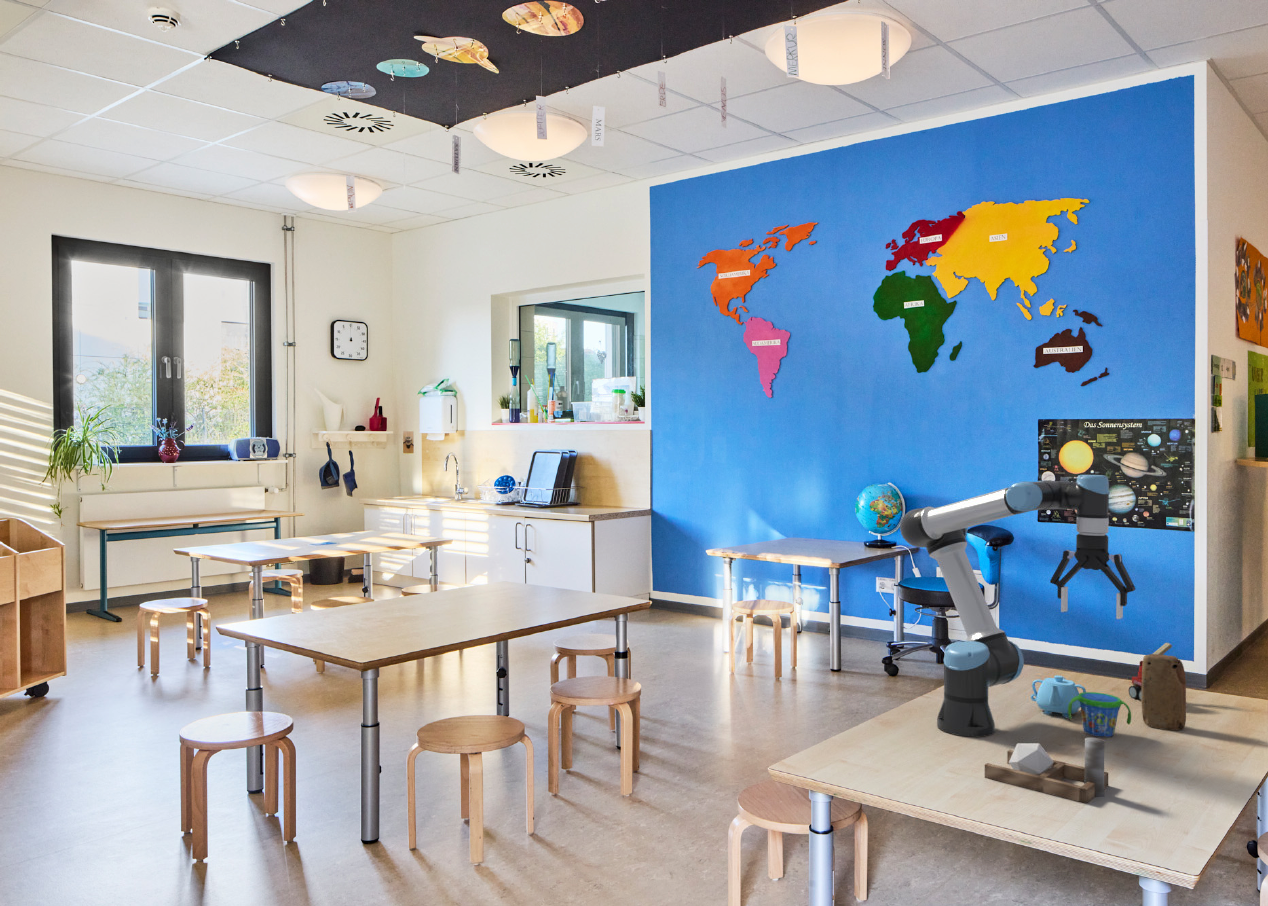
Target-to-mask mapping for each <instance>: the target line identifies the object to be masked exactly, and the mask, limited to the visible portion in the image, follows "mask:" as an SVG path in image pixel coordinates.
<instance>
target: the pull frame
mask: <svg viewBox="0 0 1268 906" xmlns="http://www.w3.org/2000/svg"><path fill="white" fill-rule="evenodd" d="M1105 743H1106V742H1105V740H1103V739H1102V738H1098V737H1097V738H1096V737H1085V738H1084V766H1081V765H1077V764H1073V763H1069V762H1064V761H1059V760H1056V759H1052V760H1053V764H1052V767H1051V768H1050V769H1048V770H1047V771H1045V772H1044V773H1042V774H1041V775H1039V776H1038V775H1034V774H1030V773H1026V772H1022V771H1018V770H1014V769H1013V768H1009V767H1005V766H1001V765H996V764H994V763H993V764H992V763H989V762H987V763H985V764H984V778H986V779H990V780H994V781H998V782H1002V783H1006V784H1010V785H1014V786H1018V787H1022V788H1025V789H1029V790H1032V791H1037V792H1041V793H1046V794H1047V795H1048V794H1049V795H1052V796H1056V797H1061V798H1064V799H1069V800H1071V801H1076V802H1080V803H1084V804H1088V803H1089V802H1090V801H1091V800H1093V799H1094V798H1096V797H1099V798H1100V797H1104V796H1105V789H1106V788H1108V787H1109V772H1106V771H1105V748H1106V747H1105ZM1013 752H1014V750H1012V749H1009V750H1007V753H1006V756H1007V758H1006V759H1007V760H1006V761H1007V762H1006V763H1007V764H1008V765H1010V764H1009V761H1010V758H1011V756H1012V754H1013ZM1064 778H1066V779H1071V780H1074V781H1077V782H1078V781H1079V782H1083V783H1084V784H1082V785H1078V784H1073V783H1070V782H1066V781H1063V779H1064Z"/></svg>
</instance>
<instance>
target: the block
mask: <svg viewBox="0 0 1268 906" xmlns="http://www.w3.org/2000/svg"><path fill="white" fill-rule="evenodd" d="M1142 661H1143V665H1142V697H1141V701H1140V703H1141V714H1142V721H1143V723H1144V724H1145V725H1146V726H1149V727H1151V728H1154V729H1161V730H1168V731H1182V730H1184V729H1185V727H1186V720H1187V681H1186V680H1187V679H1186V671H1185V667H1184V663H1183V662H1182V661H1181V659H1179V658H1178V657H1177V656H1175V655H1166V654H1163V655H1159V654H1153V653H1151V654H1145V655H1144V656H1143V659H1142Z"/></svg>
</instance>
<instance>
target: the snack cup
mask: <svg viewBox="0 0 1268 906" xmlns="http://www.w3.org/2000/svg"><path fill="white" fill-rule="evenodd" d="M1076 700H1078V701H1080V705H1081V707H1080V713H1081V721H1082V728H1083V732H1085V733H1086V734H1089V735H1091V736H1094V737H1107V738H1110V737H1112V736H1113V735H1114V734H1116V733H1115V732H1116V727H1117V726H1116V725H1117V720H1118V716H1119V712H1120V709H1121V706H1122V705H1124V706H1125V707H1126V709H1127V711H1128V712H1127V719H1126V724H1127V725H1130V724H1131V722H1132V711H1131V708H1130V706H1129V705H1128V704H1127V703H1126V702H1125V701H1123V700H1122V699H1121V698H1119V697H1118V696H1115V695H1112V694H1109V693H1103V692H1096V691H1095V692H1094V691H1088V692H1087V691H1086V692H1083V691H1082V692H1081V693H1080V692H1079V695H1078V696H1076V697H1074V698H1073V699H1072V700H1071V701H1070V703H1069V706H1068V714H1069V718H1068V719H1070V720H1072V719H1073V717H1072V714H1071V712H1072V703H1073V702H1075V701H1076Z"/></svg>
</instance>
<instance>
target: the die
mask: <svg viewBox="0 0 1268 906" xmlns="http://www.w3.org/2000/svg"><path fill="white" fill-rule="evenodd" d="M1013 751H1014V752H1013V754H1012V756H1011V758H1010V761H1009V764H1008V765H1010V767H1011V769H1014V770H1018V771H1022V772H1026V773H1030V774H1034V775H1038V776H1039V775H1041V774H1042V773H1044V772H1045V771H1047V770H1048V769H1050V768H1051V767H1052V764H1053V760H1054V759H1052V758H1051V756H1049V754H1048V753H1047V752H1046V750H1045V749H1044V747H1042V745H1041V744H1040V743H1034V742H1033V743H1024V742H1023V743H1022V742H1021V743H1016V745H1015V747H1014V749H1013Z"/></svg>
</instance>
